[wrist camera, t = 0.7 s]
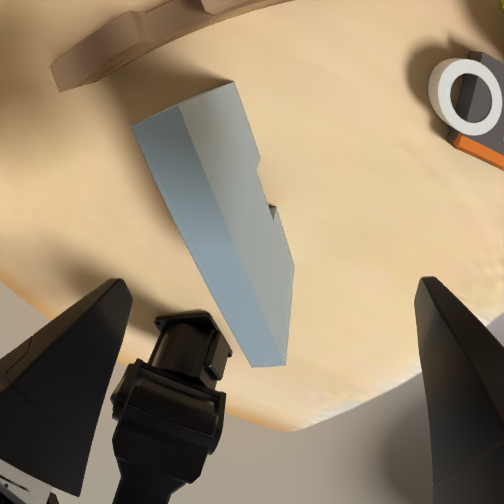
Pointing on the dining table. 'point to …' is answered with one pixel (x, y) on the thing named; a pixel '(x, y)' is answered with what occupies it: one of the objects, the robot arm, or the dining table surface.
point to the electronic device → (472, 105)
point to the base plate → (142, 36)
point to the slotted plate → (224, 215)
